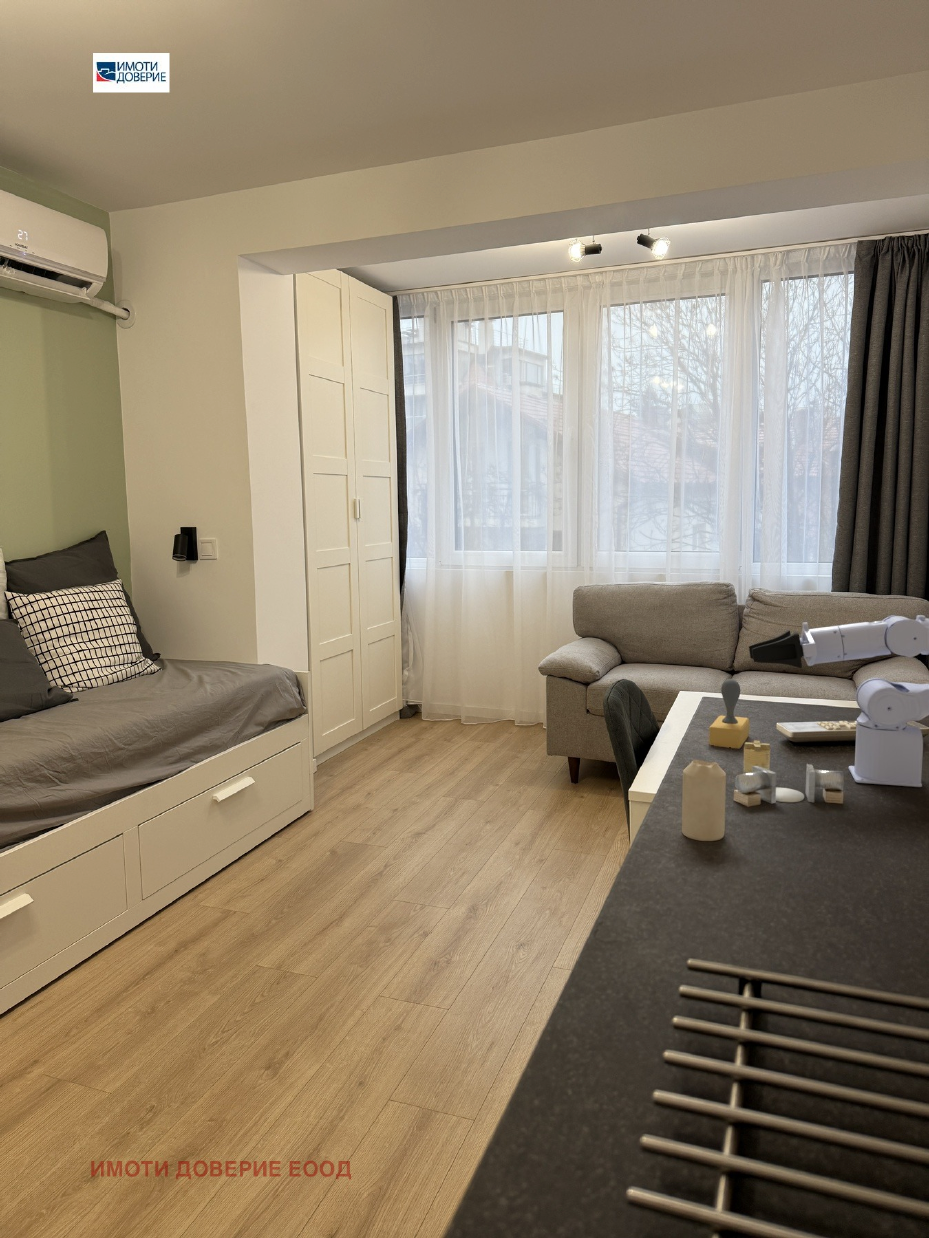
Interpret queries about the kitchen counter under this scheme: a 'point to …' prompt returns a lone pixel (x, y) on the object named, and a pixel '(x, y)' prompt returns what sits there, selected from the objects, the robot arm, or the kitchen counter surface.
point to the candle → (703, 801)
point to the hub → (756, 756)
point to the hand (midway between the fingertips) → (751, 653)
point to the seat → (788, 795)
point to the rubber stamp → (729, 720)
